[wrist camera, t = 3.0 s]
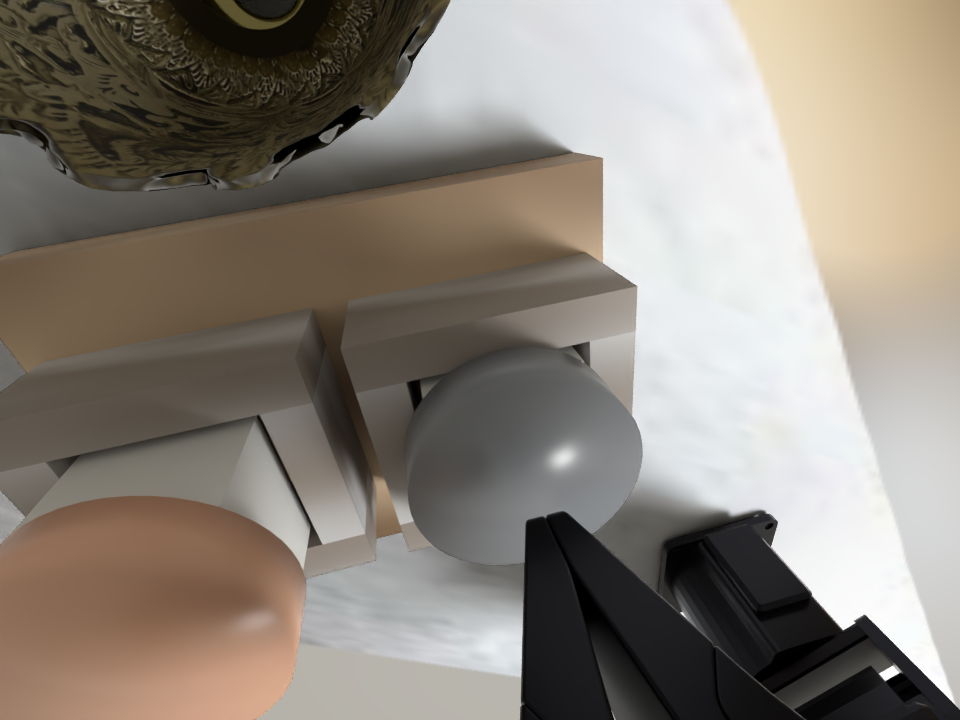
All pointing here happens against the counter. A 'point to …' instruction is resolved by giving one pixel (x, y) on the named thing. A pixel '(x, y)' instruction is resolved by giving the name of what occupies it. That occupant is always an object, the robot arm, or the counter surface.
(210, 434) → the plunger terracotta
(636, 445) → the plunger grey
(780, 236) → the counter surface
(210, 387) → the button board
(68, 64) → the cup
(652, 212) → the counter surface
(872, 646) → the robot arm
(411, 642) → the counter surface
